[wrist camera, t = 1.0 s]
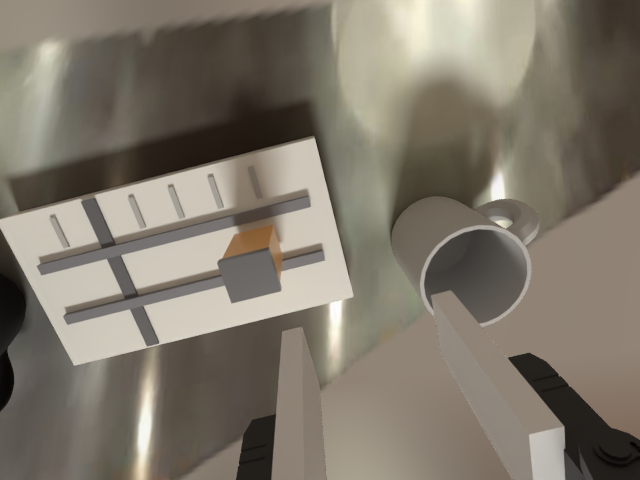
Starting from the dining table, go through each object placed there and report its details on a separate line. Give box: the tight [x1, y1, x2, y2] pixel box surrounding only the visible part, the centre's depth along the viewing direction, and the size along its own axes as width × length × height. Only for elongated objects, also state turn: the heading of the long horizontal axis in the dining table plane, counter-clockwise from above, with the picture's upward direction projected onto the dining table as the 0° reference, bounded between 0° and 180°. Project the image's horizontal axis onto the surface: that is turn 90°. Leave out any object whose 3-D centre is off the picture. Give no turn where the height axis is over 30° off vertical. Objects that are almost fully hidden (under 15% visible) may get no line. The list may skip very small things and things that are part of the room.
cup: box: [391, 196, 539, 327], centre depth 29 cm, size 7×10×9 cm
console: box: [0, 136, 354, 366], centre depth 32 cm, size 24×13×3 cm, turn 104°
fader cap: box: [217, 225, 283, 304], centre depth 27 cm, size 3×3×6 cm
